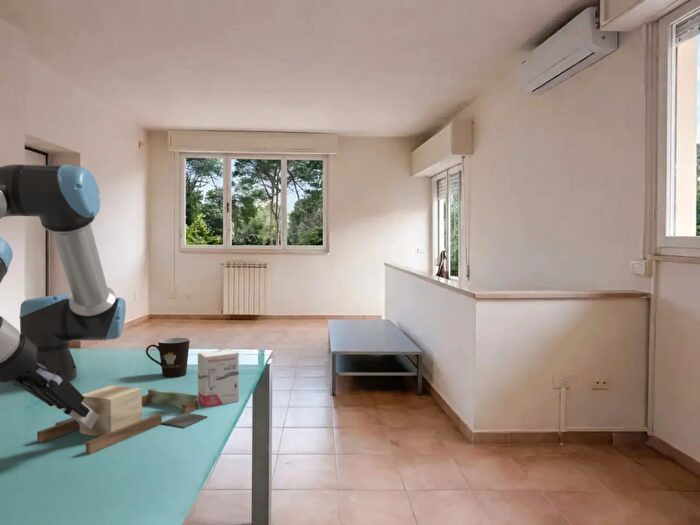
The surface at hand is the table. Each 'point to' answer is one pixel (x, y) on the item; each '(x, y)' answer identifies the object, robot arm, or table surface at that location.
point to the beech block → (113, 409)
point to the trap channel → (153, 396)
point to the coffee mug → (172, 356)
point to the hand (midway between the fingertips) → (92, 421)
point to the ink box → (218, 377)
